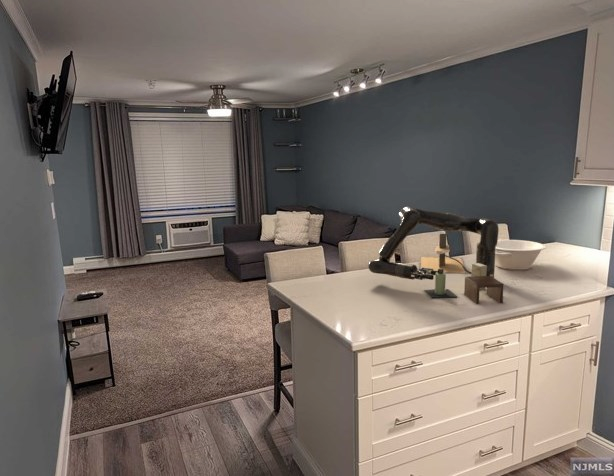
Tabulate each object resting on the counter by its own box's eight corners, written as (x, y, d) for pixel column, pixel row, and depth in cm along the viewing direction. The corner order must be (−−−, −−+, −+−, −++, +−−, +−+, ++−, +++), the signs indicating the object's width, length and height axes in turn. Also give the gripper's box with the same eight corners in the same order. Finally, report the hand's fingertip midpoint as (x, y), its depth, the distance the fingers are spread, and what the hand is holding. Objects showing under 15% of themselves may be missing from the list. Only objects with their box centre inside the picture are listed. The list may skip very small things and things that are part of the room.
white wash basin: (502, 256, 283) (503, 236, 281) (557, 265, 257) (559, 243, 255) (467, 268, 256) (468, 246, 253) (525, 278, 230) (526, 254, 228)
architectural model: (466, 273, 245) (467, 239, 242) (420, 271, 252) (421, 238, 248) (461, 258, 281) (462, 228, 278) (421, 257, 288) (422, 228, 285)
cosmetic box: (470, 286, 218) (471, 263, 216) (477, 285, 220) (478, 262, 218) (479, 290, 213) (480, 266, 211) (486, 289, 214) (487, 265, 212)
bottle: (433, 291, 210) (434, 268, 208) (443, 291, 210) (443, 267, 208) (436, 294, 205) (437, 270, 203) (446, 294, 206) (447, 270, 204)
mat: (424, 290, 214) (424, 290, 214) (448, 290, 214) (448, 289, 214) (431, 298, 202) (431, 297, 202) (457, 297, 202) (457, 296, 202)
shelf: (464, 294, 206) (464, 276, 205) (488, 293, 207) (489, 275, 205) (476, 304, 192) (477, 284, 191) (502, 303, 193) (503, 283, 191)
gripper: (399, 266, 211) (431, 271, 201) (412, 261, 222) (442, 265, 212) (399, 281, 213) (430, 286, 203) (411, 275, 224) (442, 279, 214)
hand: (436, 275), depth 208 cm, fingers open, 8 cm apart
